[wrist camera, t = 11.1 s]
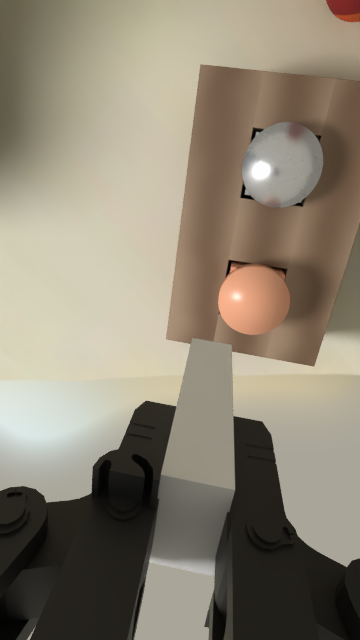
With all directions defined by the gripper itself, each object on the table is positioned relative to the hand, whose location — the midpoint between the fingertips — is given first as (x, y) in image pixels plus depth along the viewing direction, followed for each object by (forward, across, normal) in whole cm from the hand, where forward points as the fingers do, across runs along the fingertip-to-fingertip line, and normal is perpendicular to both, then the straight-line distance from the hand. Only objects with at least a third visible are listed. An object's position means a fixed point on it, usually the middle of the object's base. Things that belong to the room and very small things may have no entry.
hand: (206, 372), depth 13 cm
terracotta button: (+22, +3, -2) cm, 22 cm away
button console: (+26, +3, +3) cm, 26 cm away
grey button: (+23, +3, +8) cm, 25 cm away
